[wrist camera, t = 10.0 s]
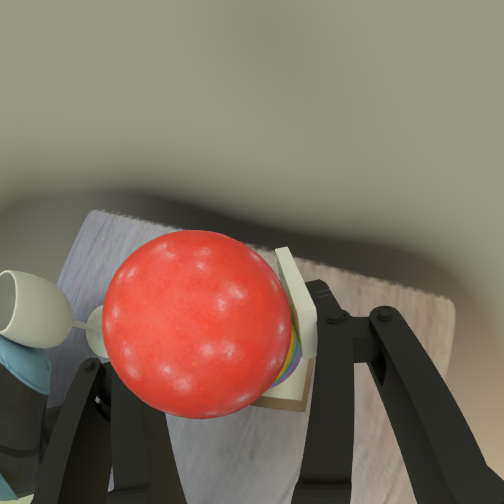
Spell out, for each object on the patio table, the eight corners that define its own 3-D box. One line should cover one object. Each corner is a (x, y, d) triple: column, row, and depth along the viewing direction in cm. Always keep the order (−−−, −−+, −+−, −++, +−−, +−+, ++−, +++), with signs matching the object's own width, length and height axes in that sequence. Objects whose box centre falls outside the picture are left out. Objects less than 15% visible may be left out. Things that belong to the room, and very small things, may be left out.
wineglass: (111, 369, 35) (2, 361, 15) (79, 335, 37) (-21, 308, 18) (137, 325, 37) (33, 290, 18) (103, 294, 39) (6, 245, 20)
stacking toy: (222, 289, 24) (110, 132, 7) (310, 308, 23) (397, 163, 6) (198, 374, 22) (14, 388, 4) (289, 397, 20) (332, 524, 3)
